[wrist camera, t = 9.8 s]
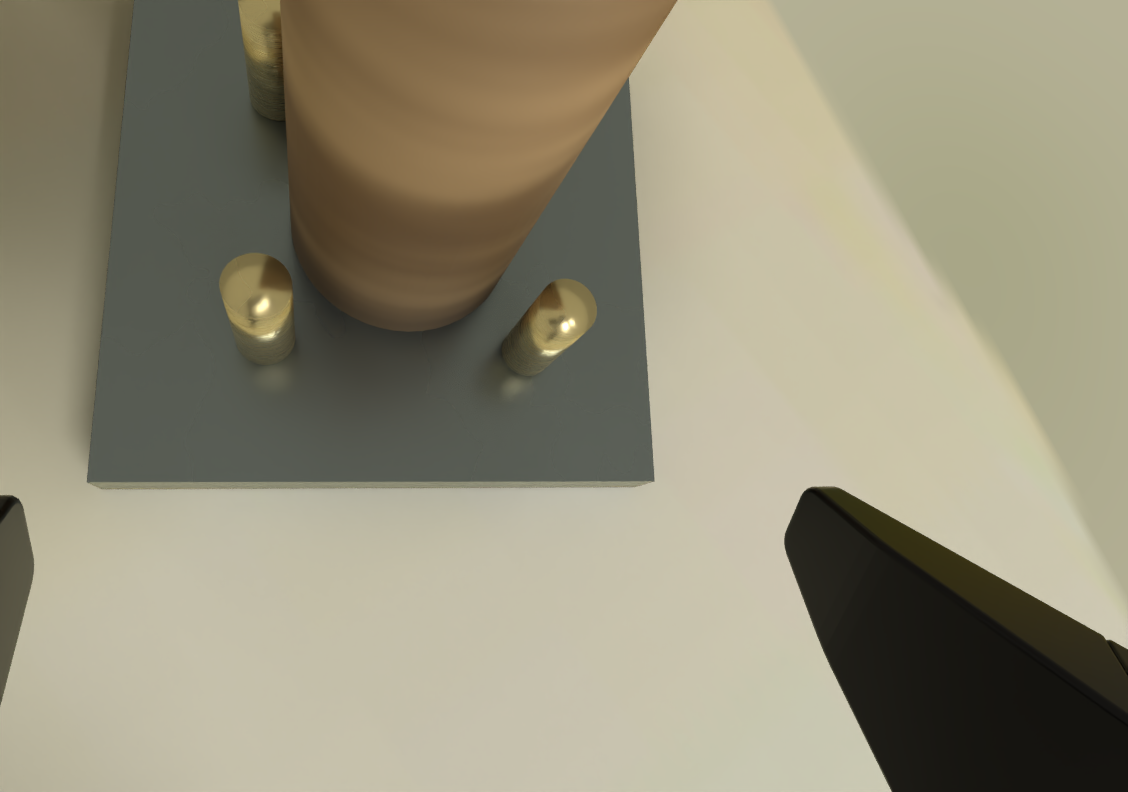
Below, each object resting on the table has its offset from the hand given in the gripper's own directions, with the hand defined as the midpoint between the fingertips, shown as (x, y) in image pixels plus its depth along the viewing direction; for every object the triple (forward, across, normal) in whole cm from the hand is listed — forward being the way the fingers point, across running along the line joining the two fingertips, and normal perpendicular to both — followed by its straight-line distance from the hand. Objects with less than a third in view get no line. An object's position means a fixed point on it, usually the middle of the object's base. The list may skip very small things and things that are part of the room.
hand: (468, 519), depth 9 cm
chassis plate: (+12, 0, +1) cm, 12 cm away
